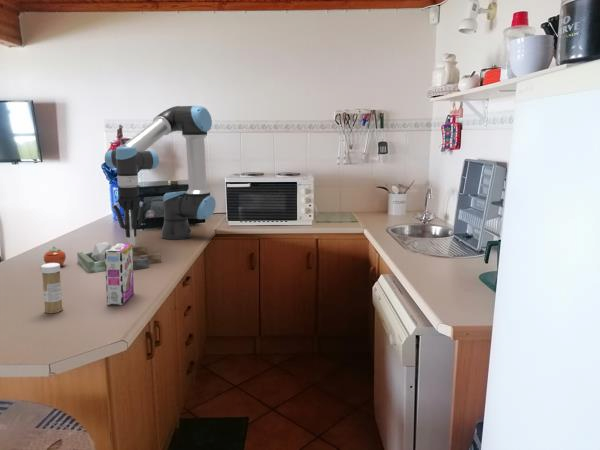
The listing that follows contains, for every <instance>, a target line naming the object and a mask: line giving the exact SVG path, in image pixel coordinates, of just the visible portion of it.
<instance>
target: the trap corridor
mask: <svg viewBox="0 0 600 450" xmlns="http://www.w3.org/2000/svg"><path fill="white" fill-rule="evenodd" d="M132 248H133V257H137V256H139V259H133V271H135V270H142V269H149V267H150V265H152V264H157V263H158V264H159V263H162V253H160V252H159V253H152V254H148V246H147V245H142V246H141V245H139V246H132ZM92 253H93V251H92V252H83V251H82V252H77V253H76V255H77V263H78V265H80V267H82V268H83V269H84V270H85V271H86V272H87V273H88V274H92V273H98V272H106V266H105V261H99V262H98V261H97V260H95V259H94V258H92V257H91V256H92Z"/></svg>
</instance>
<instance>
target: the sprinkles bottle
mask: <svg viewBox="0 0 600 450" xmlns="http://www.w3.org/2000/svg"><path fill="white" fill-rule="evenodd" d="M40 270H41V274H42V289H43V300H44V312H45V313H46V314H57V313H60V312H61V311H63V310H64V307H63V294H62V293H63V292H62V281H61V267H60V264H58V263H47V264H46V263H43V264H42V265H41V266H40Z"/></svg>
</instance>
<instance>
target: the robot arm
mask: <svg viewBox="0 0 600 450" xmlns="http://www.w3.org/2000/svg"><path fill="white" fill-rule="evenodd" d="M212 121H213V120H212V116H211V114H210V112H209V111H208V109H207V108H206V107H205V106H201V105H176V106H172V107H169V108H167V109H165V110H163V111H162V112H160V113H159V114H158V115H156V116H155V117H154V118H153V120H152V122H151V123H150V124H149V125H147V126H146V127H144V128H143V129H142V130H141V131H140V132H138V133H137V134H136V135H134V136H132V137H131V138H130V139H129V140H127V141H126V142H125V143H124V144H122V145H121V146H117V147H115V149H109V150H107V151H106V153H105V154H104V161H105V164H106V166H108V167H109V168H113V169H116V175H117V176H116V177H117V179H116V180H117V186H118V187H117V192H118V195H117V196H118V199H117V202H116V203H114V204H112V205H111V207H112V209H113V210H114V212H115V215H116V218H117V221H118V224H119V227H120V228H121V229H123V230H125V238H127V239H128V244H132V247H134V246H135V245H136V244H135V237H137V229H138V228H140V227H141V226H142V221H143V216H144V211H145V209H146V206H147V203H145V202H143V201H142V200H141V198H140V191H139V190H140V189H139V188H140V187H139V186H138V185H139V175H138V174H139V173H138V172H139V171H143V170H144V171H145V170H149V171H150V170H154V169H156V168H157V167H158V166H159V164H160V158H159V155H158V154H157V152H155V151H153V150H148V149H150V148H151V147H152V146H153V145H155V144H156V143H157V142H158V141H159V140H161V138H163V137H164V136H169V134H171V133H173V132H181V136H182V137H184V138H185V145H186V146H185V147H186V150H185V151H186V163H187V166H186V167H187V178H188V179H187V182H188V189H187V191H186V190H184V191H183V190H181V191H173V192H165V194H163V201H162V203H163V204H162V205H163V219H164V220H163V221H164V222H163V226H162V229H161V231H160V238H162V239H165V240H185V239H190V238H192V236H193V235H192V229H191V227H190V224H189V219H198V220H209V219H210V218H211V217H212V215H213V214H214V212H215V211H216V199H215V197H214V196H213V195H211V191H210V189H208V188H207V186H208V185H207V170H206V168H207V167H206V149H205V147H206V146H205V139H206V138H207V136H208V132H209V131H210V130H211V129H212V125H213V122H212ZM120 207H121V208H122V209H123V215H124V218H123V215H122V213H121V210H120ZM137 208H138V210H137ZM137 211H138V212H137ZM136 212H137V213H136ZM130 224H131V225H130Z"/></svg>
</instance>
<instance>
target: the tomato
mask: <svg viewBox="0 0 600 450" xmlns="http://www.w3.org/2000/svg"><path fill="white" fill-rule="evenodd" d="M66 260H67V254H66V252H64V251H63V250H62V249H60V248H57V247H56V246H54V245H53V246H52V248H50V249H49V250H48V251H46V252H45V253H44V255H43V261H44V264H47V263H58V264H60V268H61V267H62V266H64V264H65V262H66Z"/></svg>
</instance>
